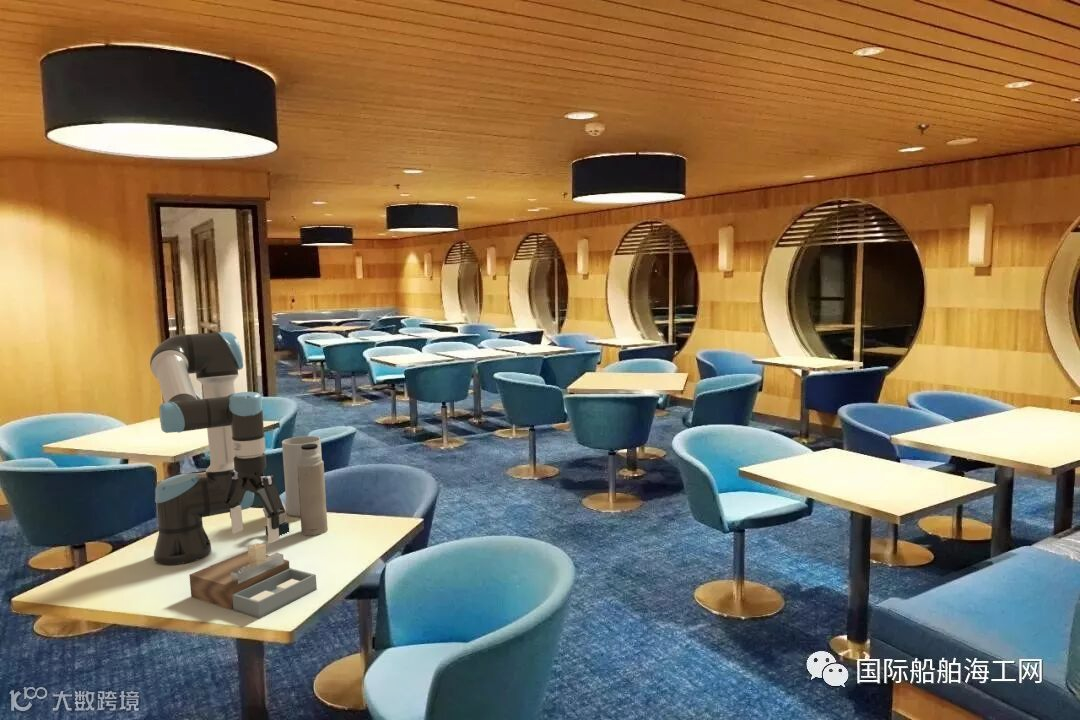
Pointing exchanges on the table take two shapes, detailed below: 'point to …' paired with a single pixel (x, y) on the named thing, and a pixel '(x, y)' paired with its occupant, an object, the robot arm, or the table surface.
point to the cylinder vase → (294, 469)
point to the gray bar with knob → (257, 563)
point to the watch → (280, 521)
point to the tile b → (286, 584)
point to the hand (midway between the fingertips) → (255, 536)
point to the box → (277, 599)
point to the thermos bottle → (312, 491)
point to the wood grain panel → (226, 580)
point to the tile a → (262, 595)
